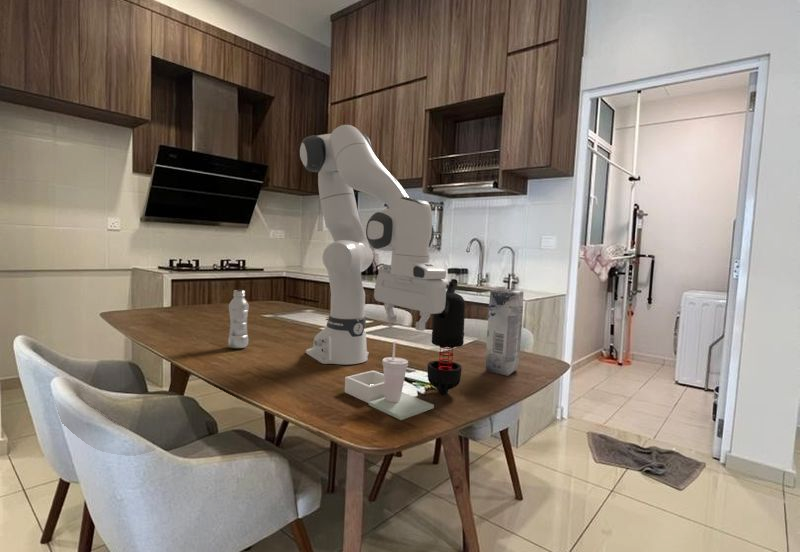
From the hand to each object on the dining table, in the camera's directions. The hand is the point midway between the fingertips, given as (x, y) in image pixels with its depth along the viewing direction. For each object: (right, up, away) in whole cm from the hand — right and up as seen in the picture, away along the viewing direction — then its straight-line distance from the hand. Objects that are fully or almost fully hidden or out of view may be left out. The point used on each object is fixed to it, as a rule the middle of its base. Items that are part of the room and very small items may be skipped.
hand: (405, 326), depth 100 cm
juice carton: (+31, -19, +34) cm, 50 cm away
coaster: (-1, -19, +1) cm, 19 cm away
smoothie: (-3, -19, +3) cm, 19 cm away
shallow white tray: (-9, -18, +9) cm, 22 cm away
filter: (+10, -19, +10) cm, 24 cm away
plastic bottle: (-57, -13, +47) cm, 75 cm away
